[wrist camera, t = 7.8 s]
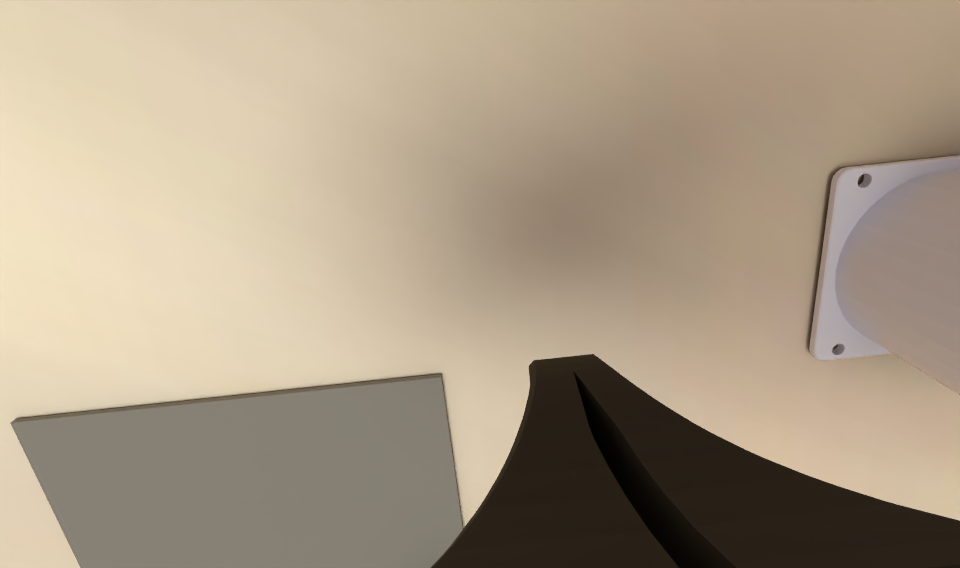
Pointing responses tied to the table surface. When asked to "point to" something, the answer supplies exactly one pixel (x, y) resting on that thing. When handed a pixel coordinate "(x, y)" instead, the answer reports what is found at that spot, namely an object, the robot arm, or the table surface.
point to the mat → (255, 479)
